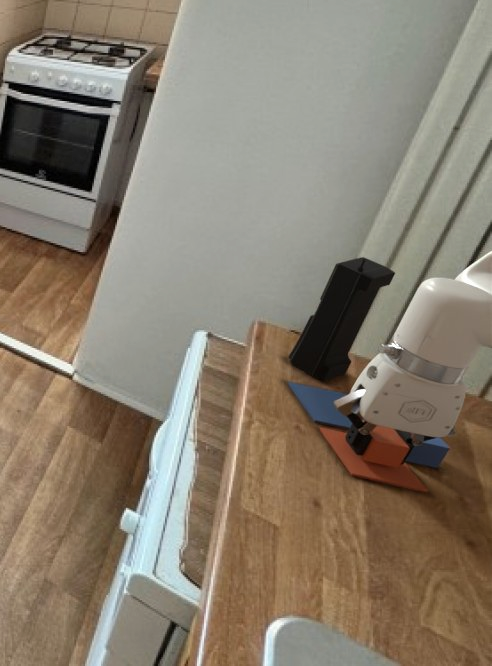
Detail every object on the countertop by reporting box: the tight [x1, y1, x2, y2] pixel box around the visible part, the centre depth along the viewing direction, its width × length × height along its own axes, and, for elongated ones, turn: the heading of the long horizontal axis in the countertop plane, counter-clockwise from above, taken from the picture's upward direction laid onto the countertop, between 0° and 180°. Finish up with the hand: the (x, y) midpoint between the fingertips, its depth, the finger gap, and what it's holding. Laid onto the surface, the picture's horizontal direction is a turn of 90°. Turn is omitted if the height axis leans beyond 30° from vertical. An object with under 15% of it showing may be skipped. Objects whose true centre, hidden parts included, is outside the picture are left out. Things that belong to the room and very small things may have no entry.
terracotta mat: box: [319, 427, 429, 494], centre depth 93 cm, size 9×9×1 cm
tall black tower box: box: [288, 256, 396, 382], centre depth 107 cm, size 8×6×25 cm
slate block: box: [394, 429, 450, 469], centre depth 94 cm, size 4×4×4 cm
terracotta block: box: [361, 420, 410, 468], centre depth 92 cm, size 4×4×4 cm
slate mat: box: [287, 381, 365, 430], centre depth 103 cm, size 9×9×1 cm
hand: (373, 451), depth 93 cm, fingers closed on terracotta block, 4 cm apart
